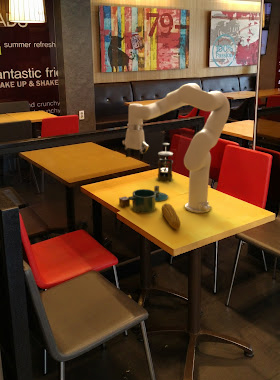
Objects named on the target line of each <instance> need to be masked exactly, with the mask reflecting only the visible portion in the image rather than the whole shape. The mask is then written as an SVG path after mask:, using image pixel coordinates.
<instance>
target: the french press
mask: <svg viewBox="0 0 280 380" xmlns="http://www.w3.org/2000/svg"><path fill="white" fill-rule="evenodd" d="M162 145H163V146H164V149H165V150H164V151H159V152H158V153H157V154H158V157H159V159H158V160H157V164H158V169H157V178H156V180H157V181H158V182H169V183H170V182H173V164H174V160H172V159H169V158H167V157H172V158H173V154H174V153H173V152H172V151H167V147H168V146H169V145H170V143H168V142H163V143H162ZM163 166H164V167H163ZM166 166H167V167H166Z"/></svg>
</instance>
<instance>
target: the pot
mask: <svg viewBox="0 0 280 380" xmlns="http://www.w3.org/2000/svg"><path fill="white" fill-rule="evenodd" d="M159 192H160V191H159ZM159 192H158V191H154V190H152V189H147V188H141V189H135V190H133V192H132V193H131V194H132V195H131V196H127V197H128V199H129V200H130V201H131V202H132V203H131V206H132V207H131V209H132V210H133V211H134V212H137V213H141V214H148V213H152V212H154V211H155V210H156V206H157V205H156V204H157V203H156V202H157V201H156V195H157V194H159Z"/></svg>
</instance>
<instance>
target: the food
mask: <svg viewBox="0 0 280 380" xmlns="http://www.w3.org/2000/svg"><path fill="white" fill-rule="evenodd" d="M161 213H162V215H163V217H164V218H165V220H166V221H167V222H168V224H169V225H170V226H171V228H172V229H175V230H179V229H180V228H181V219H180V217H179V215H178V214H177V211H176V210H175V208H174V206H173V205H172V204H170V203H164V204H162V206H161Z"/></svg>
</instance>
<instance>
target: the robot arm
mask: <svg viewBox="0 0 280 380" xmlns="http://www.w3.org/2000/svg"><path fill="white" fill-rule="evenodd" d="M186 105H189V106H191V107H194V108H196V109H198V110H201V111H204V112H210V114H209V116H208V118H207V119H206V122H205V124H204V126H203V128H202V129H201V130H199V131H198V132H196V133H195V134H194V136H193V138H192V139H191V140H190V143H189V146H188V148H187V150H186V153H185V155H184V157H183V165H184V167H185V168H186V169H187V170H188V171H189V178H188V197H187V198H188V199H187V200H188V201H187V202H186V203H185V205H184V208H185V209H186V210H187V211H189V212H191V213H196V214H204V213H207V212H209V211H210V210H211V209H212V208H213V207H212V206H211V205H210V202H209V200H208V198H209V181H210V180H209V179H210V167H211V162H212V155H211V152H210V151H211V149H212V148H214V147H215V146H216V145H217V143H218V141H219V140H220V137H221V134H222V132H223V130H224V128H225V126H226V123H227V121H228V119H229V116H230V112H231V107H230V101H229V99H228V97H227V96H226V95H225V94H224V93H223V92H222V91H219V90H213V91H209V92H208V91H205V90H203V89H202V88H201V87H200V85H198V83H194V82H190V83H186V84H183V85H180V87H179V88H177V89H175V90H173V91H170V92H169V93H167V94H166V96H165V97H163V98H161V99H159V100H157V101H155V102H152V103H148V104H145V105H143V104H141V103H137V102H136V103H135V102H134V103H130V104H129V105H128V123H126V125H127V126H126V127H128V128H127V129H126V132H125V139H124V140H122V142H121V143H122V145H123V147H124V150H125V158H129V157H131V150H139V152H140V153H139V161H144V160H145V158H146V155H145V154H146V152H147V151H148V150H149V147H150V146H149V144H147V143H146V141H145V131H144V129H143V127H144V121H148V120H151V119H155V118H158V117H160V116H163V115H164V114H166V113H169V112H171V111H175V110H177V109H179V108H181V107H183V106H186Z"/></svg>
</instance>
